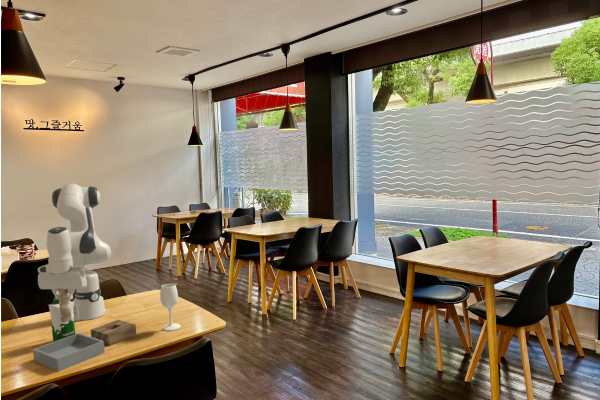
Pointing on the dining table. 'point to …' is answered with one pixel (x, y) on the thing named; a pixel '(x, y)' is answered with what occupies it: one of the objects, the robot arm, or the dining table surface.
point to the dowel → (64, 305)
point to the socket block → (114, 332)
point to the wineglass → (169, 303)
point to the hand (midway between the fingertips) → (64, 299)
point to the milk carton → (58, 327)
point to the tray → (68, 351)
